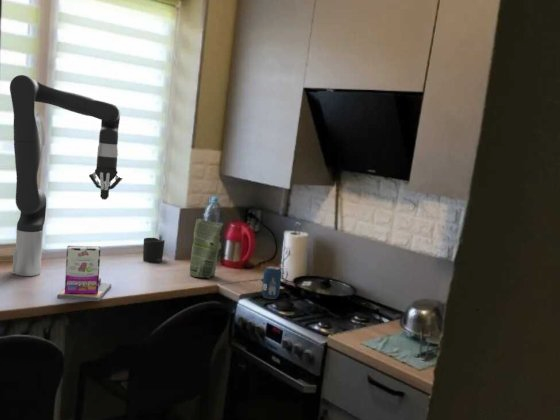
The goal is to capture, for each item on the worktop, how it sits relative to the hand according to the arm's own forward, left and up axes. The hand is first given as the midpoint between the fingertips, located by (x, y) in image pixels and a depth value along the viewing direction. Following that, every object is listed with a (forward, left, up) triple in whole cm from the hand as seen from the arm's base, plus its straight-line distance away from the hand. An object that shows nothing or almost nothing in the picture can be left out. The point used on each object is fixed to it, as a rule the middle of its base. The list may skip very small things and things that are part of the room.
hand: (104, 199), depth 223 cm
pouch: (+41, +15, -32) cm, 54 cm away
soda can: (+69, -8, -32) cm, 76 cm away
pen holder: (+16, +35, -32) cm, 50 cm away
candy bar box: (+1, -28, -30) cm, 41 cm away
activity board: (+1, -23, -31) cm, 39 cm away
